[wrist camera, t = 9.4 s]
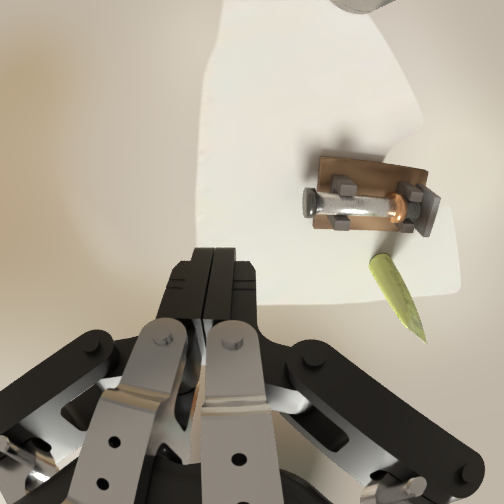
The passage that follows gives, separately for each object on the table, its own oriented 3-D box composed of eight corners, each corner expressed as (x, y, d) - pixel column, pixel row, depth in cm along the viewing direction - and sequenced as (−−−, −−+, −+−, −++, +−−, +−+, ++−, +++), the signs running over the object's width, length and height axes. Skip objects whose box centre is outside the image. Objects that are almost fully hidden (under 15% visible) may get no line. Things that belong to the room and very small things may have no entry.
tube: (363, 274, 52) (398, 351, 35) (367, 253, 49) (409, 330, 32) (387, 271, 51) (427, 344, 35) (392, 251, 49) (439, 323, 32)
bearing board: (320, 156, 39) (333, 169, 33) (424, 169, 39) (447, 184, 33) (312, 225, 45) (322, 248, 39) (410, 228, 46) (428, 249, 40)
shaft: (303, 181, 39) (310, 193, 35) (411, 190, 39) (426, 202, 35) (301, 210, 42) (306, 225, 38) (405, 216, 42) (418, 229, 38)
